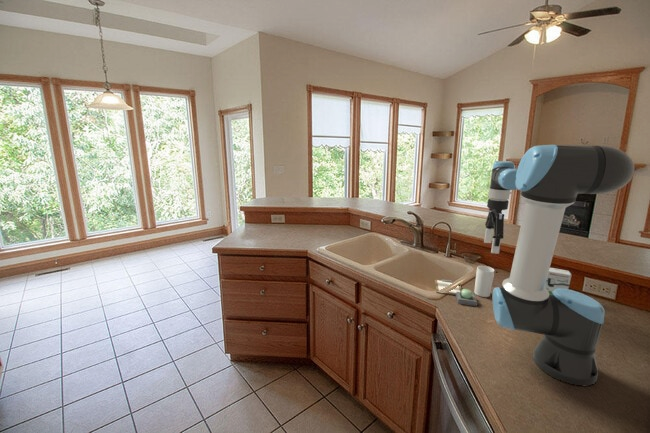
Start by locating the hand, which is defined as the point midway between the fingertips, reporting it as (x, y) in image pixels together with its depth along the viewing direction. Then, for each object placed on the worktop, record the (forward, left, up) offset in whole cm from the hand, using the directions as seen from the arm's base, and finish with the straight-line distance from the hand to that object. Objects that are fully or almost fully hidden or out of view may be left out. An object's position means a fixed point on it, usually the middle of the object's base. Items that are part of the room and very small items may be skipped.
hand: (490, 247), depth 130 cm
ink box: (+7, -29, -22) cm, 37 cm away
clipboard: (0, +15, -21) cm, 26 cm away
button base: (-10, +9, -21) cm, 25 cm away
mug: (0, 0, -22) cm, 22 cm away
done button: (-10, +9, -20) cm, 24 cm away
